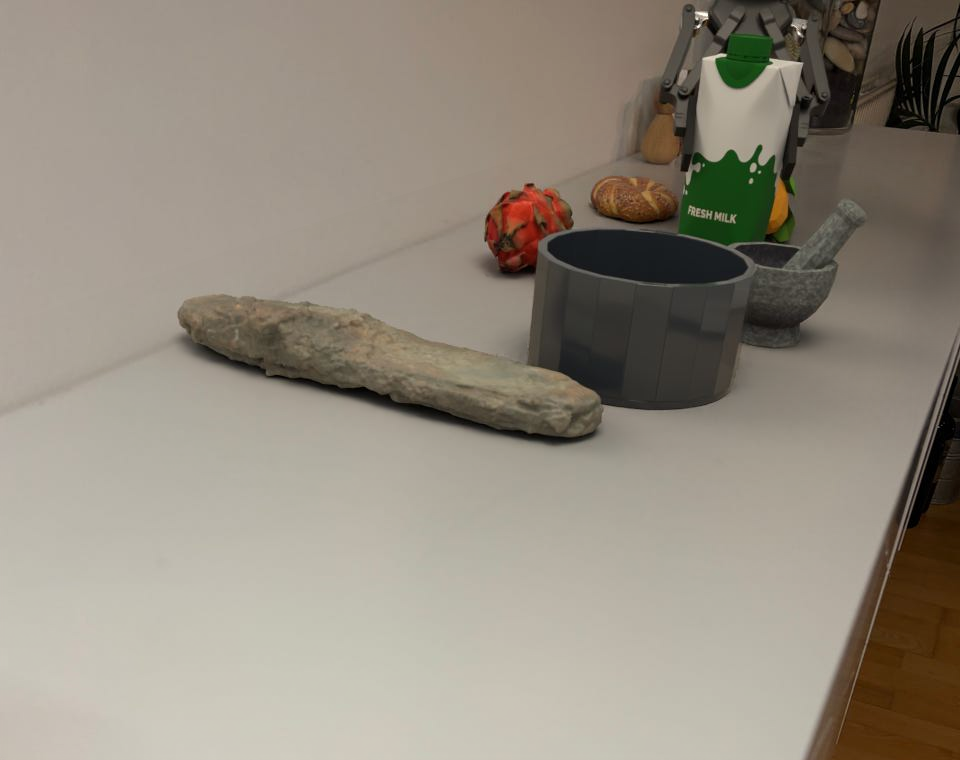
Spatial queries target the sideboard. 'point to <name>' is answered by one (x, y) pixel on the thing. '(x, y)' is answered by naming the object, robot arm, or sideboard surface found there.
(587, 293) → the pot
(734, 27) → the robot arm
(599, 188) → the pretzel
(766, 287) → the mortar and pestle
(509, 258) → the dragon fruit
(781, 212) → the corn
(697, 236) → the milk carton
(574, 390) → the long grey stone
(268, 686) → the sideboard surface
